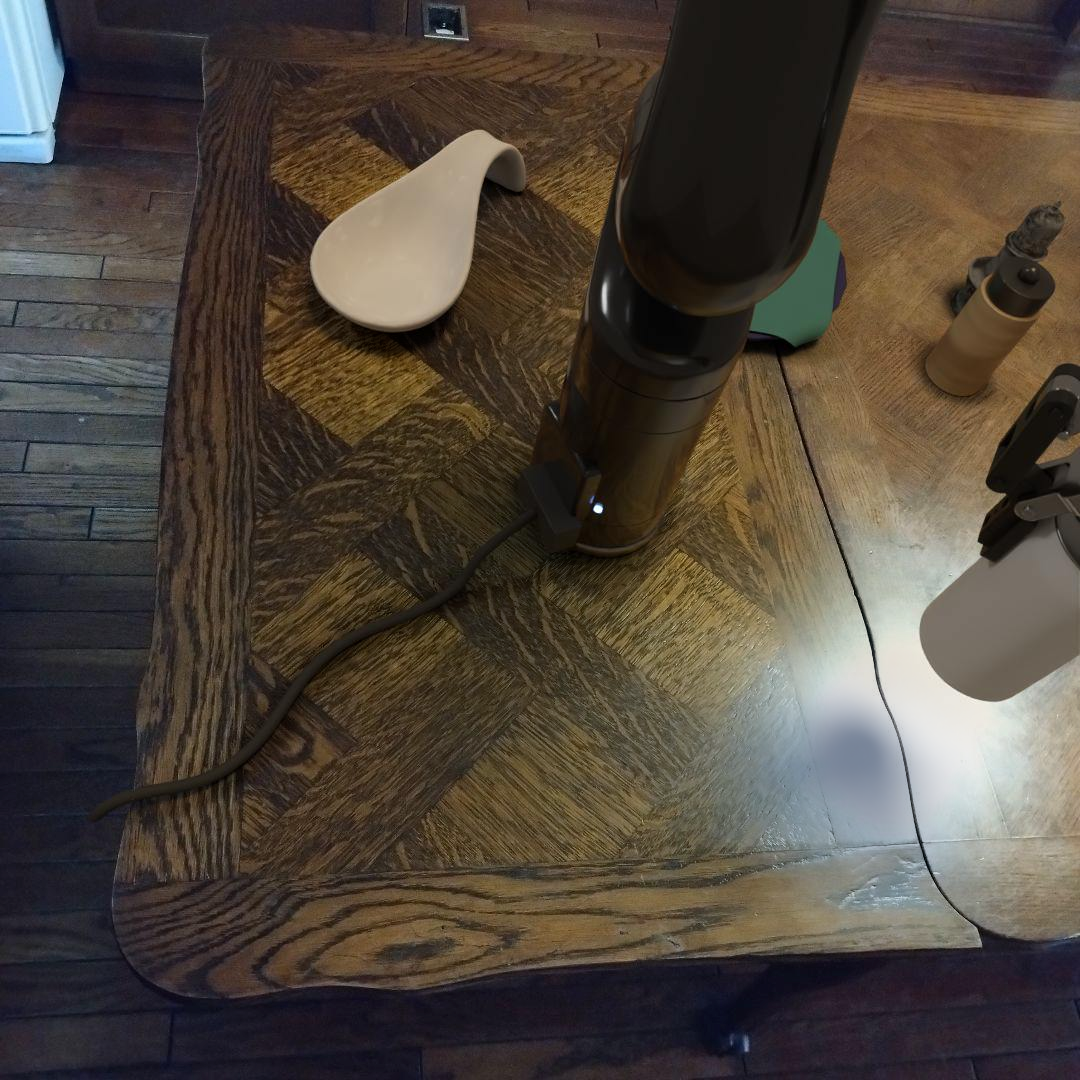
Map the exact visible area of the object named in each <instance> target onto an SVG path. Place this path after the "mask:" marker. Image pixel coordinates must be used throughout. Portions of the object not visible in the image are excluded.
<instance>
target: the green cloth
mask: <svg viewBox="0 0 1080 1080" xmlns="http://www.w3.org/2000/svg"><path fill="white" fill-rule="evenodd" d="M841 248H842V238H841V237H839V236H838V235H837V234H836V233H835V231H834V230H833V229H832V228H831V227H829V225H828V223H827V222H826V221H824V220H823V219H822V217H821V216H820V218H819V222H818V226H817V230H816V234H815V237H814V239H813V242H812V245H811V247H810V249H809V251H808V253H807V255H806V256H805V258H804V259H803V261H802V262H801V263H800V265H799V266H798V268H797V269H796V271H795V272H794V273H793V274H792V275H791V276H790V277H789V278H788V279H787V280H786V282H785V283H784V284H783V285H782V286H781V287H780V288H778V289H777V290H776V291H774V292H773V293H772V294H770V295H769V296H768V297H766V298H765V299H764V300H762V301H760V302H758V303H756V305H755V309H754V314H753V318H752V322H751V327H750V331H749V334H748V338H747V341H752V342H757V341H770V340H785V341H787V342H788V343H790V344H791V345H792V346H793V347H794V348H797V347H799V346H801V345H804V344H806V343H810V342H813V341H816V340H818V339H819V338H821V337H823V335H824V334H825V332H826V331H827V330H828V328H829V326H830V323H831V321H832V315H833V313H834V312H835V311H836V310H837V309H838V308H839V306H840V304H841V301H842V299H843V296H844V293H845V291H846V288H847V286H848V279H847V268H846V259H845V256H844V254H843V252H842V250H841Z"/></svg>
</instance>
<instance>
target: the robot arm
mask: <svg viewBox="0 0 1080 1080" xmlns="http://www.w3.org/2000/svg"><path fill="white" fill-rule="evenodd" d="M888 1H889V0H676V3H675V8H674V14H673V19H672V20H673V21H672V26H671V30H670V33H669V34H670V35H669V38H668V43H667V47H666V51H665V55H664V59H663V62H662V66H660V67H659V68H658V69H657V70H656V71H655V73H654V74H652V75H651V77H650V78H649V79H648V81H647V82H646V84H645V85H644V86H643V88H642V89H641V91H640V93H639V94H638V97H637V99H636V100H635V103H634V105H633V108H632V111H631V114H630V117H629V120H628V122H627V126H626V130H625V135H624V138H623V142H622V146H621V149H620V154H619V157H618V161H617V165H616V170H615V174H614V178H613V182H612V185H611V190H610V192H609V197H608V202H607V206H606V210H605V214H604V217H603V221H602V226H601V229H600V232H599V235H598V240H597V244H596V248H595V252H594V256H593V261H592V266H591V270H590V274H589V280H588V284H587V288H586V293H585V297H584V301H583V305H582V309H581V314H580V318H579V323H578V326H577V329H576V333H575V334H576V335H575V338H574V342H573V346H572V349H571V352H570V356H569V360H568V364H567V367H566V371H565V374H564V379H563V382H562V386H561V388H560V389H561V390H560V393H559V397H558V399H554V400H551V401H548V402H545V403H544V405H543V408H542V411H541V415H540V419H539V423H538V427H537V428H538V429H537V432H536V435H535V440H534V444H533V448H532V449H533V450H532V453H531V455H530V461H529V464H528V467H526V468H523V469H521V471H520V476H519V480H518V484H517V487H516V492H517V494H518V496H519V499H520V500H521V503H522V504H523V507H524V508H525V510H526V512H524V513H523V514H522V515H520V516H518V517H517V518H516V519H514V520H513V521H512V522H510V523H509V524H507V525H505V527H503V528H502V529H501V530H500V531H498V532H497V533H496V534H494V535H493V536H492V537H491V538H490V539H488V540H487V541H486V542H485V543H484V544H483V545H481V547H480V548H479V549H478V550H477V551H476V552H475V553H474V554H473V555H472V557H470V559H469V561H468V562H467V563H466V565H465V566H464V568H463V569H462V571H461V572H460V574H459V575H458V576H457V578H455V579H454V581H452V582H451V584H449V585H448V586H446V587H445V588H444V589H442V590H441V591H440V592H439V593H436V594H435V595H433V596H432V597H430V598H429V599H426V600H424V601H423V602H421V603H418V604H416V605H414V606H412V607H409V608H407V609H405V610H402V611H399V612H396V613H394V614H391V615H388V616H386V617H383V618H380V619H378V620H375V621H372V622H370V623H367V624H365V625H363V626H360V627H359V628H358V627H357V628H356V629H354V630H352V631H349V632H348V633H346V634H345V635H343V636H341V637H340V638H338V639H336V640H335V641H334V642H333V643H331V644H330V645H328V646H326V648H324V649H323V650H322V651H321V652H320V653H318V654H317V655H316V656H315V657H314V658H312V659H311V661H310V662H309V663H308V664H307V665H305V667H304V668H303V670H302V671H300V673H299V674H298V675H297V676H296V678H295V679H294V680H293V682H292V683H291V685H290V686H289V687H288V689H287V690H286V692H285V693H284V695H283V696H282V697H281V699H280V700H279V702H278V703H277V704H276V706H275V708H274V709H273V711H272V712H271V714H270V716H268V718H267V719H266V721H265V722H264V724H263V725H262V726H261V727H260V728H259V730H258V731H257V732H256V733H255V734H254V735H253V737H252V738H251V739H250V740H249V741H248V742H247V743H245V745H244V746H243V747H241V748H240V749H239V750H238V751H237V752H236V753H235V754H233V755H232V756H230V757H229V758H228V759H226V760H225V761H224V762H222V763H220V764H219V765H217V766H215V767H213V768H211V769H209V770H207V771H204V772H201V773H198V774H195V775H193V776H189V777H186V778H181V779H175V780H171V781H165V782H158V783H153V784H147V785H142V786H138V787H134V788H135V791H134V788H130V789H126V790H124V791H121V792H118V793H116V794H114V795H112V796H110V797H109V798H107V799H105V800H103V801H102V802H101V803H99V804H98V805H96V806H95V807H94V808H93V809H92V810H91V811H90V812H89V813H88V815H87V820H88V821H89V823H97V822H99V821H101V820H102V819H103V818H104V817H105V816H107V815H108V814H110V813H111V812H113V811H114V810H116V809H118V808H120V807H123V806H126V805H128V804H131V803H134V802H139V801H143V800H147V799H153V798H159V797H164V796H165V797H166V796H170V795H177V794H180V793H185V792H188V791H193V790H197V789H200V788H202V787H205V786H208V785H211V784H213V783H214V782H217V781H219V780H220V779H222V778H225V777H227V776H228V775H229V774H231V773H232V772H234V771H235V770H237V769H238V768H240V767H241V766H242V765H243V764H245V763H246V762H247V761H248V760H249V759H250V758H251V757H252V756H253V755H255V754H256V752H258V750H259V749H260V748H261V747H262V746H263V745H265V743H266V742H267V740H268V739H269V738H270V737H271V736H272V734H273V733H274V732H275V730H276V729H277V728H278V726H280V724H281V722H282V720H283V719H284V718H285V716H286V714H287V713H288V711H290V708H291V707H292V705H293V704H294V702H295V701H296V700H297V698H298V696H299V695H300V694H301V692H302V691H303V690H304V688H305V687H306V686H307V684H308V683H309V682H310V681H311V679H312V678H313V677H314V676H315V675H316V674H317V673H318V672H319V671H320V669H322V668H323V667H324V666H325V665H326V664H327V663H328V662H329V661H330V660H332V659H333V658H334V657H336V656H337V655H338V654H339V653H341V652H343V651H344V650H345V649H346V648H348V647H350V646H352V645H353V644H355V643H357V642H360V641H362V640H364V639H365V638H367V637H370V636H372V635H374V634H377V633H379V632H382V631H384V630H385V631H386V630H388V629H390V628H393V627H395V626H398V625H401V624H403V623H407V622H408V621H411V620H414V619H416V618H418V617H421V616H422V615H425V614H427V613H429V612H430V611H433V610H434V609H436V608H438V607H439V606H441V605H443V604H444V603H446V602H447V601H448V600H450V599H452V598H453V597H454V596H456V594H457V595H458V593H459V592H460V591H461V590H462V589H463V588H464V587H465V586H466V585H467V584H468V583H469V581H470V580H471V579H472V577H473V576H474V574H475V572H476V571H477V569H479V567H480V566H481V564H482V563H483V562H484V561H485V560H486V558H487V557H488V556H490V555H491V554H492V553H493V552H494V551H495V550H496V549H497V548H498V547H500V546H501V545H502V544H503V543H505V542H506V541H508V539H509V538H511V537H513V536H514V535H515V534H517V533H518V532H519V531H521V530H522V529H523V528H525V527H526V526H527V525H530V523H532V524H533V526H534V528H535V530H536V532H537V534H538V536H539V538H540V540H541V542H542V543H543V546H544V548H545V550H546V552H547V553H548V554H549V555H551V554H555V553H560V554H564V553H567V552H572V551H577V552H579V553H582V554H585V555H588V556H593V557H605V558H608V557H609V558H611V557H619V556H623V555H627V554H630V553H633V552H635V551H637V550H639V549H640V548H642V547H644V546H645V545H647V543H648V542H649V541H651V539H653V538H654V536H655V535H656V533H657V531H658V530H659V527H660V525H661V524H662V521H663V519H664V516H665V513H666V510H667V508H668V506H669V504H670V502H671V500H672V498H673V494H674V493H675V491H676V489H677V487H678V485H679V482H680V481H681V479H682V477H683V474H684V472H685V470H686V468H687V466H688V464H689V461H690V459H691V458H692V455H693V454H694V451H695V449H696V447H697V445H698V443H699V440H700V439H701V437H702V435H703V432H704V430H705V428H706V427H707V424H708V422H709V420H710V418H711V415H712V414H713V412H714V410H715V408H716V406H717V404H718V402H719V400H720V397H721V396H722V393H723V391H724V389H725V387H726V385H727V383H728V381H729V379H730V377H731V374H732V373H733V371H734V369H735V367H736V365H737V363H738V361H739V359H740V357H741V355H742V352H743V350H744V348H745V345H746V344H747V341H748V340H747V338H748V334H749V331H750V327H751V322H752V318H753V314H754V309H755V305H756V303H758V302H760V301H762V300H764V299H765V298H766V297H768V296H769V295H770V294H772V293H773V292H774V291H776V290H777V289H778V288H780V287H781V286H782V285H783V284H784V283H785V282H786V280H787V279H788V278H789V277H790V276H791V275H792V274H793V273H794V272H795V271H796V269H797V268H798V266H799V265H800V263H801V262H802V261H803V259H804V258H805V256H806V255H807V253H808V251H809V249H810V247H811V245H812V242H813V239H814V237H815V234H816V230H817V226H818V222H819V218H820V217H821V212H822V209H823V204H824V200H825V196H826V193H827V189H828V184H829V180H830V177H831V173H832V169H833V165H834V161H835V158H836V154H837V150H838V147H839V143H840V141H841V136H842V133H843V129H844V125H845V122H846V119H847V115H848V113H849V109H850V105H851V101H852V98H853V94H854V91H855V88H856V84H857V81H858V79H859V76H860V72H861V69H862V66H863V64H864V60H865V57H866V54H867V53H868V49H869V46H870V44H871V41H872V38H873V35H874V33H875V31H876V28H877V26H878V24H879V22H880V19H881V17H882V14H883V12H884V10H885V7H886V5H887V3H888ZM1078 434H1080V365H1078V364H1075V363H1070V362H1066V363H1065V362H1064V363H1062V364H1059V365H1057V366H1056V367H1055V368H1054V369H1053V370H1052V371H1051V373H1049V375H1048V377H1047V378H1046V379H1045V381H1044V382H1043V384H1042V385H1041V386H1040V387H1039V389H1038V390H1037V391H1036V393H1035V394H1034V396H1033V397H1032V398H1031V399H1030V401H1029V402H1028V404H1027V405H1026V406H1025V407H1024V409H1023V410H1022V411H1021V413H1020V414H1019V416H1018V417H1017V418H1016V419H1015V421H1014V422H1013V424H1011V426H1010V428H1009V429H1008V430H1007V432H1006V433H1005V434H1004V436H1002V438H1001V440H1000V441H999V442H998V445H997V447H996V450H995V453H994V456H993V459H992V461H991V464H990V466H989V470H988V472H987V474H986V475H987V476H986V478H985V485H986V487H987V488H988V490H990V491H992V492H993V493H996V494H1005V495H1004V496H1003V497H1002V498H1001V499H1000V500H999V501H998V502H997V503H996V504H995V505H994V506H993V507H992V508H991V509H990V510H989V511H987V513H985V516H984V519H983V522H982V524H981V528H980V529H979V532H978V537H977V541H976V542H977V544H980V545H981V549H980V552H979V556H980V557H984V558H986V559H988V560H989V561H991V562H993V563H995V562H996V561H997V560H999V559H1000V558H1001V557H1002V556H1003V555H1004V554H1005V553H1007V552H1008V551H1009V550H1010V549H1011V548H1012V547H1014V546H1015V545H1016V544H1017V543H1018V542H1019V541H1020V540H1022V539H1023V538H1024V537H1025V536H1026V535H1027V534H1028V533H1030V532H1031V531H1032V530H1033V529H1034V528H1035V527H1037V523H1038V520H1040V519H1045V518H1049V517H1053V516H1058V515H1062V514H1066V513H1071V512H1072V513H1074V514H1075V515H1076V516H1077V517H1080V446H1078V447H1076V448H1075V449H1074V450H1073V452H1072V453H1070V454H1068V455H1065V456H1062V457H1059V458H1055V459H1051V460H1048V461H1044V462H1041V463H1037V462H1038V461H1039V459H1040V458H1041V457H1042V455H1043V454H1044V453H1045V452H1046V451H1047V449H1048V448H1049V447H1050V446H1051V444H1053V442H1054V441H1055V440H1056V439H1058V440H1059V441H1062V442H1067V441H1069V440H1070V438H1071V437H1074V436H1077V435H1078ZM132 799H133V800H132Z"/></svg>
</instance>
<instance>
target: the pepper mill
mask: <svg viewBox="0 0 1080 1080" xmlns="http://www.w3.org/2000/svg"><path fill="white" fill-rule="evenodd" d="M1055 291H1056V282H1055V278H1054V277H1053V274H1051V273H1050V271H1049V270H1048V268H1046V267H1045V266H1043V265H1042V264H1040V263H1039V262H1035V261H1033V260H1031V259H1028V258H1024V257H1009V258H1006V259H1005V260H1003V261H1002V262H1001V263H1000V265H999V266H998V268H997V269H996V270H995V272H994V273H993V274H992V275H989V276H987V277H986V278H985V279H984V280H983V281H982V283H981V284H980V285H979V287H978V288H977V290H976V291H975V292H974V294H973V295H972V296H971V298H970V299H969V301H968V302H967V303H966V305H965V306H964V307H963V309H962V310H961V312H960V313H959V314H958V316H957V315H956V317H955V319H954V320H953V321H952V322H951V324H950V325H949V326H948V328H947V329H946V331H945V332H944V334H943V335H942V336H941V338H940V339H939V340H938V341H937V343H936V345H935V346H934V347H933V348H932V350H931V351H930V353H929V354H928V356H927V357H926V359H925V362H924V363H925V364H924V367H925V372H926V374H927V376H928V378H929V380H930V381H931V382H932V383H933V384H934V385H935V386H936V387H937V388H939V389H941V390H942V391H944V392H946V393H948V394H950V395H954V396H956V397H957V396H958V397H960V396H961V397H969V396H972V395H974V394H976V393H978V392H979V391H980V390H981V388H982V387H983V386H984V385H985V383H987V381H988V380H989V379H990V377H991V376H993V374H994V372H996V370H997V369H998V368H999V367H1000V365H1001V364H1002V363H1003V362H1004V361H1005V359H1006V358H1007V357H1008V356H1009V354H1010V353H1011V352H1012V351H1013V350H1014V348H1015V347H1016V346H1017V345H1018V344H1019V342H1021V340H1022V339H1023V338H1024V336H1025V335H1026V334H1027V333H1028V332H1029V330H1030V329H1032V327H1033V325H1035V323H1036V322H1037V321H1038V320H1039V319H1040V317H1041V316H1042V315H1043V313H1044V307H1045V305H1046V304H1047V302H1048V301H1049V300H1050V298H1051V297H1052V296H1053V295H1054V293H1055Z"/></svg>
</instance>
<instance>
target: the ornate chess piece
mask: <svg viewBox="0 0 1080 1080" xmlns="http://www.w3.org/2000/svg"><path fill="white" fill-rule="evenodd" d="M1061 208H1062V201H1061V200H1057V201H1055V202H1052V205H1051V204H1046V203H1045V204H1044V203H1043V204H1039V205H1036V206H1034V207H1032V208H1031V210H1030V211H1029V212H1028V214H1027V215H1025V218H1024V219H1023V220H1022V222H1021V223H1020V225H1019V226H1018V227H1017V229H1016V230H1012V231H1010V232H1008V233H1007V234H1006V236H1005V240H1004V242H1005V244H1004V245H1003V246H1002V248H1001V249H1000V251H999V252H998V253H997V255H993V254H991V255H989V254H987V255H986V254H985V255H981V256H977V257H976V258H974V259H972V260H971V262H970V264H969V265H968V268H967V275H966V280H965V284H964V286H962V287H959V288H958V289H956V290H955V291H954V292H953V294H952V295H951V299H950V304H951V308H952V310H953V312H954V313H955V315H956V317H957V316H958V314H959V313H960V312H961V310H962V309H963V307H964V306H965V305H966V303H967V302H968V301H969V299H970V298H971V296H972V295H973V294H974V292H975V291H976V290H977V288H978V287H979V285H980V284H981V283H982V281H983V280H984V279H985V278H986V277H987V276H989V275H992V274H993V273H994V272H995V270H996V269H997V268H998V266H999V265H1000V263H1001V262H1002V261H1003V260H1005V259H1006V258H1009V257H1024V258H1028V259H1031V260H1033V261H1035V262H1037V263H1039V262H1043V261H1044V260H1046V259H1047V257H1048V255H1049V254H1048V253H1049V250H1048V248H1049V247H1050V245H1052V243H1053V242H1054V240H1056V238H1057V237H1058V235H1059V234H1060V232H1061V231H1062V230H1063V228H1064V226H1065V224H1066V221H1065V220H1066V219H1065V215H1064V214H1063V212H1062V211H1061V210H1060V209H1061Z"/></svg>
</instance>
